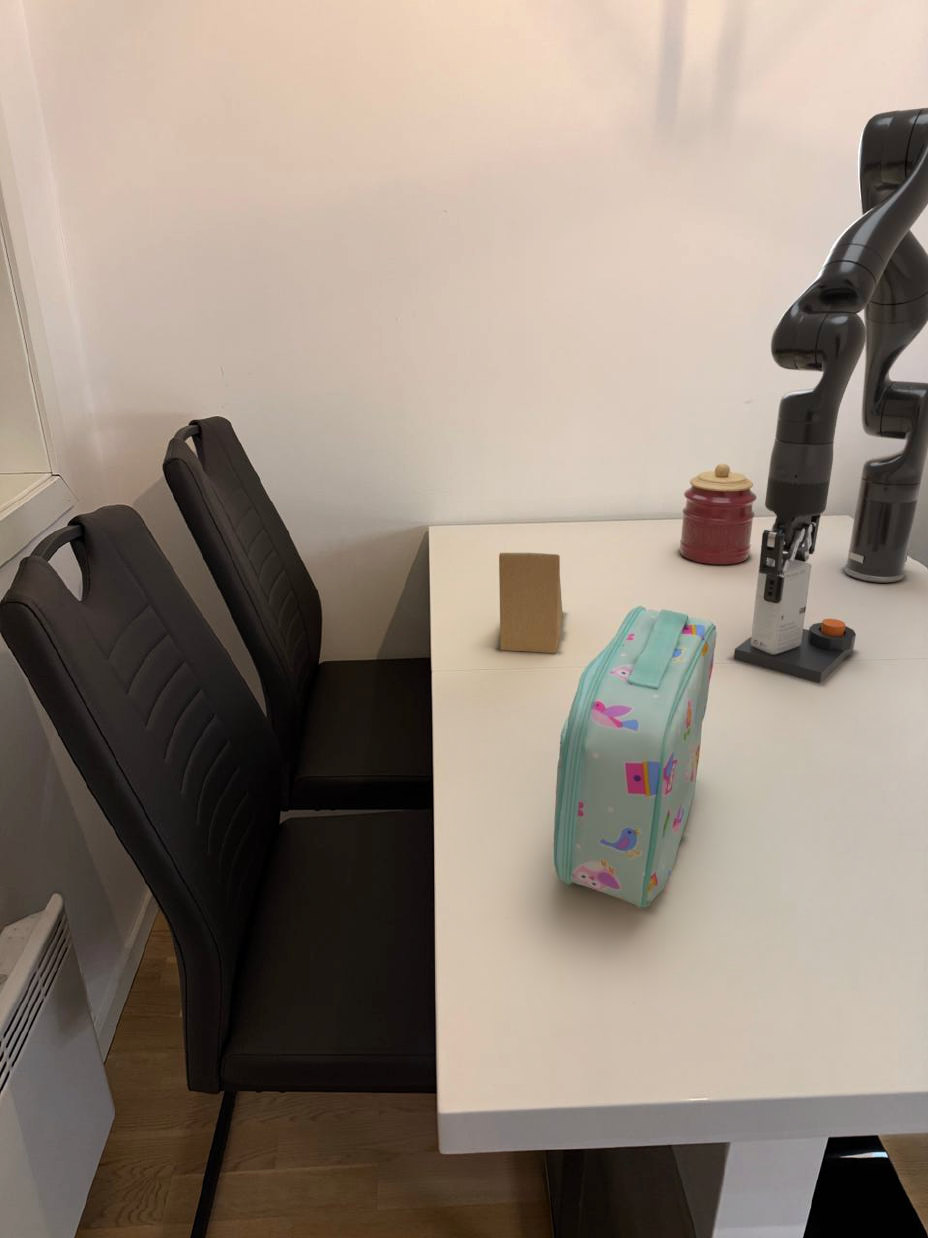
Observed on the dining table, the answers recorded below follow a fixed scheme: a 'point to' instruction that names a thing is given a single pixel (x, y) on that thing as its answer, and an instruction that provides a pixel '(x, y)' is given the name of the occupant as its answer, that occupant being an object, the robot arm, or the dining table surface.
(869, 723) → the dining table surface
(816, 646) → the button base plate
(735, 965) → the dining table surface
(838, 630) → the tare button
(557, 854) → the lunch box
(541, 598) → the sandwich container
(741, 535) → the kitchen canister
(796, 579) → the cosmetic box
